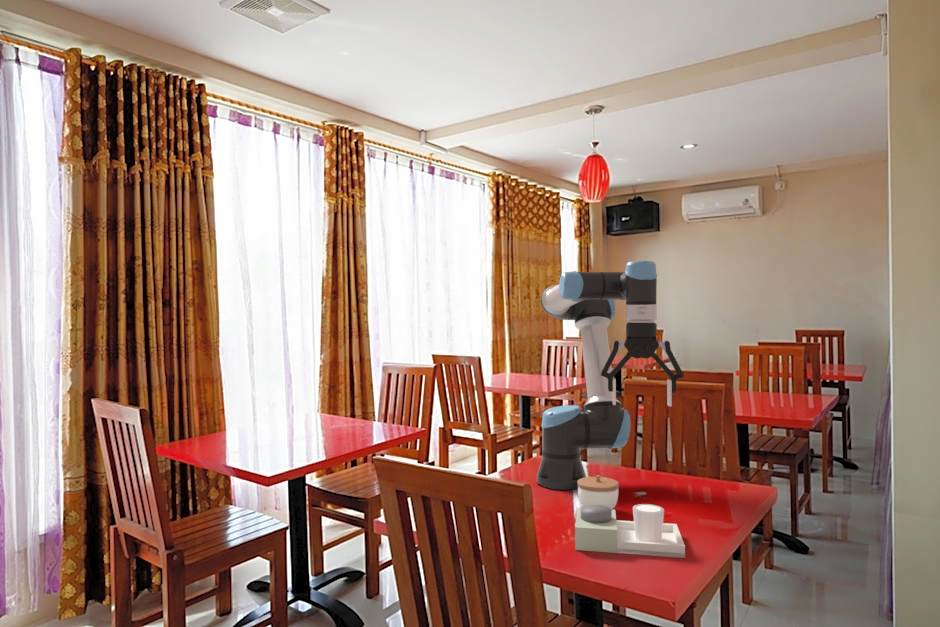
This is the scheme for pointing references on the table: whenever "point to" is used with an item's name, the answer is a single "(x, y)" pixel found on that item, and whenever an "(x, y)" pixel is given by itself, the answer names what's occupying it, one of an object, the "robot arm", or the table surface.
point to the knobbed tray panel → (621, 535)
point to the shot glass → (648, 522)
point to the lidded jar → (598, 491)
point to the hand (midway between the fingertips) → (641, 405)
